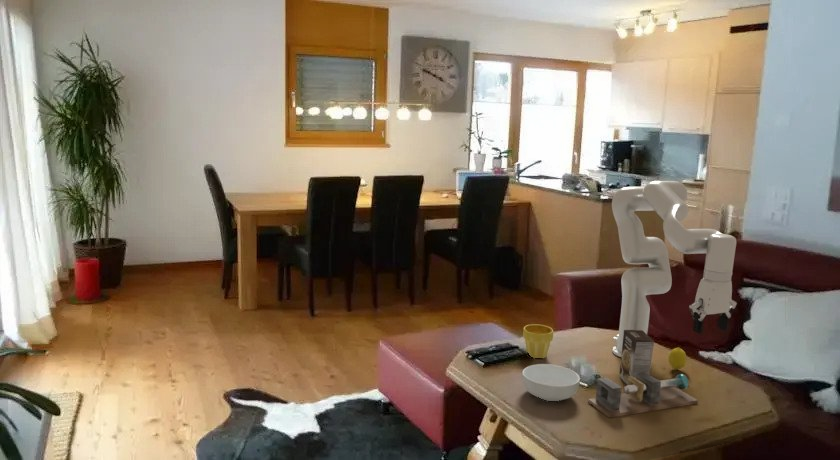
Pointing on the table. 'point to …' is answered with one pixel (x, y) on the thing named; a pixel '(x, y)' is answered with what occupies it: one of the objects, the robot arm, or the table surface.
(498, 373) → the table surface
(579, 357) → the table surface
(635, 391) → the shaft
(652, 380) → the shaft frame
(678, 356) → the lemon
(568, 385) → the cereal bowl
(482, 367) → the table surface
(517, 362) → the table surface
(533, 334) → the plant pot
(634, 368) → the coffee box
